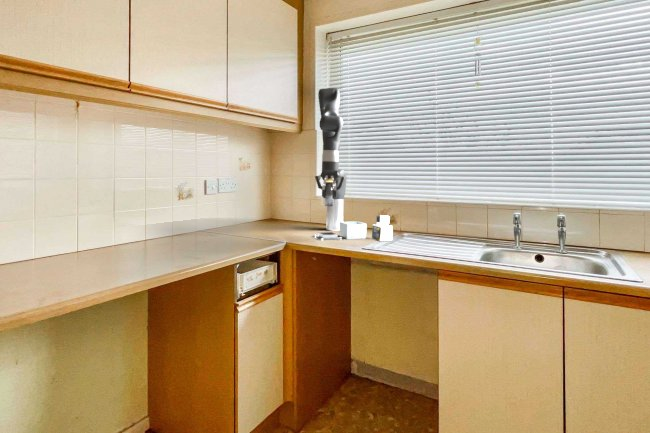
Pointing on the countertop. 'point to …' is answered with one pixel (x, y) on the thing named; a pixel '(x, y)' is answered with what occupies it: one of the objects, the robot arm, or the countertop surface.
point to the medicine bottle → (382, 229)
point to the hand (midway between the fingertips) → (329, 198)
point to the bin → (353, 230)
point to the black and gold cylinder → (329, 192)
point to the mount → (327, 236)
